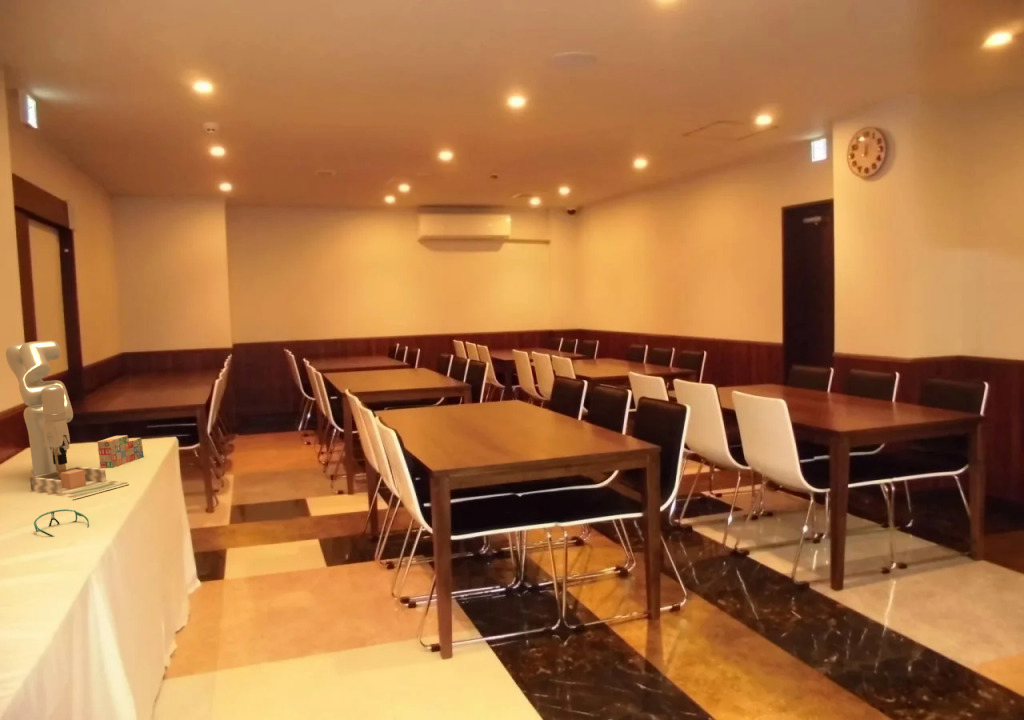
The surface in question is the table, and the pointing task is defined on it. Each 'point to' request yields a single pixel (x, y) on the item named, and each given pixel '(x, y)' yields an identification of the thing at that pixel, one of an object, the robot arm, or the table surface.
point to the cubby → (93, 484)
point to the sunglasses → (57, 520)
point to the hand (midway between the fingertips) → (60, 463)
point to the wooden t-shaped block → (58, 466)
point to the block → (73, 479)
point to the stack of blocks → (119, 451)
